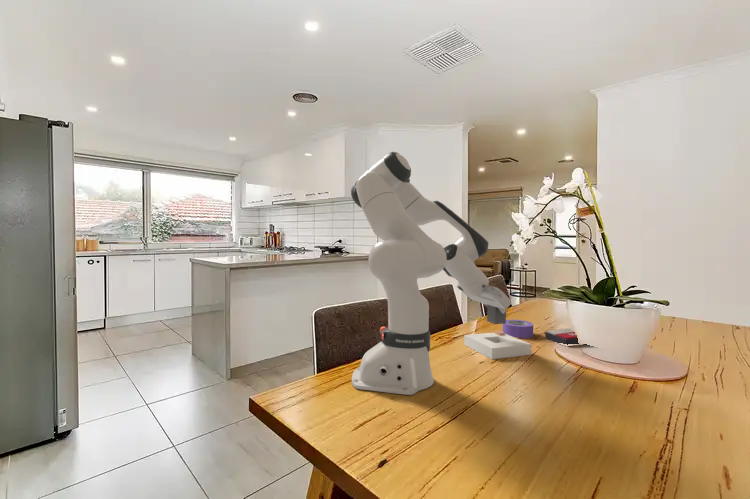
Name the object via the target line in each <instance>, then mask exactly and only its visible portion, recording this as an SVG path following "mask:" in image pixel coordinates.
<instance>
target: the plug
mask: <svg viewBox="0 0 750 499" xmlns="http://www.w3.org/2000/svg"><path fill="white" fill-rule="evenodd" d="M486 308H487V310H486V311H487V312H486V313H487V314H486V322H488V323H491V324H493V325H503V324H505V323H506V320H507V311H506V312H505V313H504V314H503V313H500V312H499V311H498V308H497V307H494V306H491V305H487V306H486Z"/></svg>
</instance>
